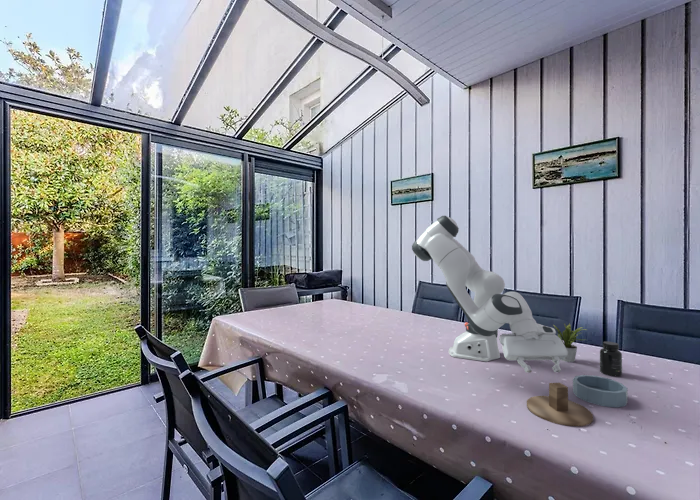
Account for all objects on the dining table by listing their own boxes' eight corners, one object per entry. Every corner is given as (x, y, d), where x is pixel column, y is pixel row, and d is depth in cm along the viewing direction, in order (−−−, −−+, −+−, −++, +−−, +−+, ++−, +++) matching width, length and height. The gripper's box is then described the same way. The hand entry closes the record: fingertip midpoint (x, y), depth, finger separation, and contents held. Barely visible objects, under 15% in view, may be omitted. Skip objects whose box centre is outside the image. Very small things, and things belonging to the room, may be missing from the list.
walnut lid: (549, 428, 92) (550, 398, 92) (515, 400, 109) (515, 375, 109) (608, 426, 93) (608, 396, 93) (565, 398, 110) (565, 373, 110)
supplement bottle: (595, 370, 133) (595, 340, 133) (611, 370, 133) (611, 340, 133) (610, 377, 126) (610, 345, 126) (626, 376, 126) (626, 345, 126)
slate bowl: (583, 404, 105) (583, 389, 105) (567, 386, 119) (567, 373, 119) (636, 409, 101) (636, 394, 101) (613, 390, 115) (613, 377, 115)
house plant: (597, 368, 135) (596, 328, 135) (559, 366, 138) (559, 326, 138) (580, 356, 149) (580, 320, 149) (546, 355, 152) (546, 319, 152)
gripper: (500, 329, 114) (514, 367, 105) (559, 328, 115) (579, 366, 105) (494, 338, 119) (507, 376, 109) (551, 337, 119) (569, 375, 109)
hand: (543, 371), depth 107 cm, fingers open, 8 cm apart
